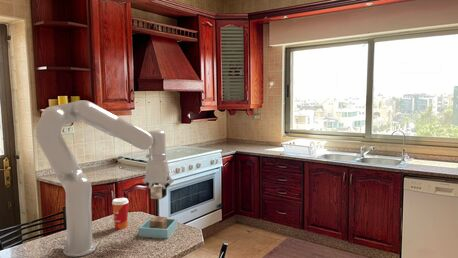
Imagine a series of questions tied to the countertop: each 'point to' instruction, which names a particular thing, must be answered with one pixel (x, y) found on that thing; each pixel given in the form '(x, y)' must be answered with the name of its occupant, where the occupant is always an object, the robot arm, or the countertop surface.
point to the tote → (157, 233)
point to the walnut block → (158, 222)
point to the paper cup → (120, 212)
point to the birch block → (156, 192)
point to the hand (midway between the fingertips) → (158, 196)
